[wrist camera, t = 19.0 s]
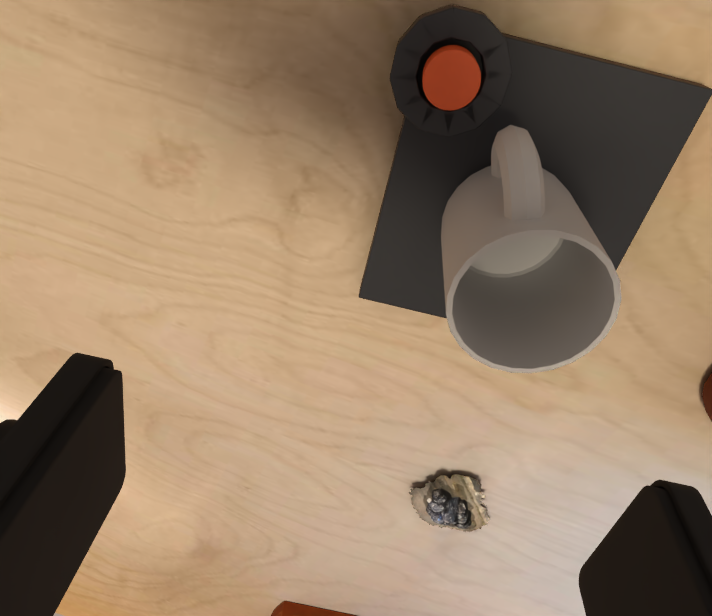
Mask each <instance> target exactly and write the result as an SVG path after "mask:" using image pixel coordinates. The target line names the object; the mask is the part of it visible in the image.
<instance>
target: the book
mask: <svg viewBox="0 0 712 616" xmlns="http://www.w3.org/2000/svg"><path fill="white" fill-rule="evenodd" d="M271 616H355V615H350V614H345V613H341V612H336V611H331V610H326V609H321V608H316V607H312V606H307V605H302V604H297V603H292V602H288V601H284V602H282V603H281V604H280V605H279V606H277V608H276V609H275V610H274V611H273V613H272V615H271Z"/></svg>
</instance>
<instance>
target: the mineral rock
mask: <svg viewBox="0 0 712 616" xmlns="http://www.w3.org/2000/svg"><path fill="white" fill-rule="evenodd" d="M428 482H429V483H426V486H425V487H424V488H415V489H413V490H412V489H410V490H411V492H412V493H411V492H409V494H411V495H412V496H413V497H412V498H411V502H412V505H413V506H414V507H413V508H414V509H416V510H417V512H416V513H418V514H420V515H419V516H420V518H421V519H422V520H424V521H426V522H427V523H429V525H430V524H431V525H433V526H434V525H439V527H441V528H442V527H445V528H446V526H448V527H449V528H451V529H454V528H455V529H457V530H462V531H469V532H470V531H473V530H476V529H478V528H480V529H481V526H483V525H486V524H487V522H488V521H489V520H490V518H488V517H486V516H488V515H486V513H487V510H486V509H485V508H484V507H482V506H481V505H480V504H484V503H481V501H480V500H481V498H480V497H482V498H485V497H486V496H484V495H483V494H482V495H481V493H480V492H481V491H480V490H481V488H480V487H481V484H479V481H478V480H477V479H475V478H472V477H470V476H469V477H466V476H462V475H458V474H454V475H452V477H451V478H448V477H447V476H446V475H445V476H442V475H441V476H439V477H437V478H436V480H435V481H434V482H433V483H432V482H430V481H428ZM484 505H485V504H484ZM425 512H426V513H425Z"/></svg>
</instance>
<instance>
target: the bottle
mask: <svg viewBox="0 0 712 616" xmlns="http://www.w3.org/2000/svg"><path fill="white" fill-rule="evenodd" d="M702 397H703V401H704V405H705V410H706V412H707V414H708V416H709V418H710V419H711V421H712V373H711V374H710V376H709V378H708V379H707V381H706V382H705V384H704V388H703V395H702Z"/></svg>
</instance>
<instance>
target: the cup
mask: <svg viewBox="0 0 712 616" xmlns="http://www.w3.org/2000/svg"><path fill="white" fill-rule="evenodd" d="M441 245H442V261H443V276H444V291H445V307H446V316H447V320H448V324H449V328H450V331H451V333H452V335H453V336H454V338H455V339H456V341H457V343H458V344H459V346H460V347H461V348H462V349H463V350H464V351H465V352H467V353H468V354H469V355H470V356H471V357H472V358H473V359H475V360H477V361H479V362H481V363H483V364H485V365H487V366H489V367H491V368H494V369H498V370H502V371H507V372H511V373H536V372H543V371H549V370H554V369H556V368H559V367H562V366H564V365H567V364H570V363H572V362H574V361H576V360H577V359H579V358H581V357H582V356H584V355H585V354H587V353H589V352H590V351H592V350H593V349H594V348H595V347H596V346H597V345H598V344H599V343H600V342H601V341H602V340H603V339H604V338H605V337H606V336H607V334H608V332H609V330H610V329H611V327H612V325H613V324H614V322H615V320H616V319H617V315H618V311H619V307H620V303H621V287H620V279H619V277H618V275H617V272H616V270H615V268H614V265H613V263H612V261H611V260H610V258H609V256H608V255H607V253H606V251H605V250H604V248H603V246H602V245H601V243H600V242H599V240H598V238H597V237H596V235H595V233H594V232H593V230H592V228H591V227H590V225H589V223H588V222H587V220H586V219H585V217H584V215H583V214H582V212H581V210H580V209H579V207H578V205H577V204H576V202H575V200H574V199H573V197H572V195H571V194H570V192H569V191H568V190H567V189H566V188H565V186H564V185H563V184H562V183H561V182H560V181H559V180H558V179H557V178H556V177H555V175H553V174H551V173H550V172H548V171H546V170H545V169H543V168H542V166H541V162H540V158H539V155H538V152H537V149H536V147H535V145H534V142H533V140H532V138H531V136H530V134H529V133H528V131H527V130H526V129H523V128H520V127H516V126H513V125H509V126H507V127H506V128H504V129H502V130H500V131H499V132H497V134H496V137H495V140H494V143H493V146H492V151H491V166H488V167H485V168H484V169H482V170H480V171H478V172H476V173H474V174H472V175H470V176H469V177H468V178H467V179H466V180H465V181H464V182H463V183H461V184H460V185H459V186H458V187H457V188H456V190H455V191H454V193H453V194H452V196H451V197H450V199H449V200H448V202H447V204H446V207H445V210H444V213H443V216H442V228H441Z"/></svg>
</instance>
